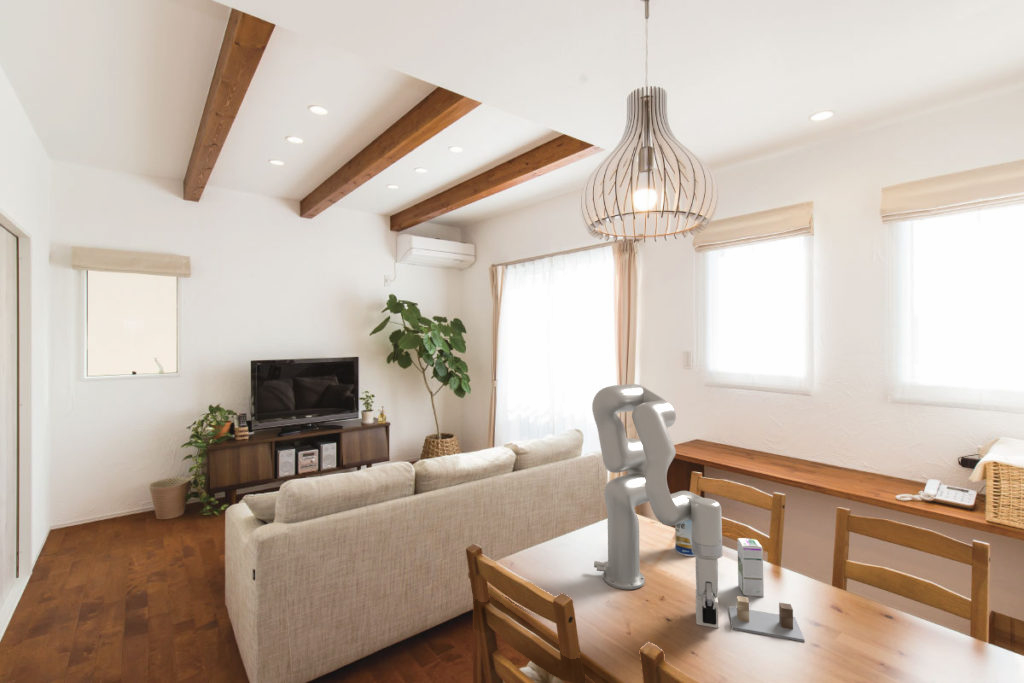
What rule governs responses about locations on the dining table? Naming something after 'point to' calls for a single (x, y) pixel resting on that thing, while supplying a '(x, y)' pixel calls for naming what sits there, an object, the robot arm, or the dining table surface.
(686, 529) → the beverage bottle
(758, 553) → the syrup box
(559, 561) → the dining table surface
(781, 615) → the walnut post
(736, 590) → the dining table surface
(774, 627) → the stand
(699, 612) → the plain white cuboid
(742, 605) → the maple post
